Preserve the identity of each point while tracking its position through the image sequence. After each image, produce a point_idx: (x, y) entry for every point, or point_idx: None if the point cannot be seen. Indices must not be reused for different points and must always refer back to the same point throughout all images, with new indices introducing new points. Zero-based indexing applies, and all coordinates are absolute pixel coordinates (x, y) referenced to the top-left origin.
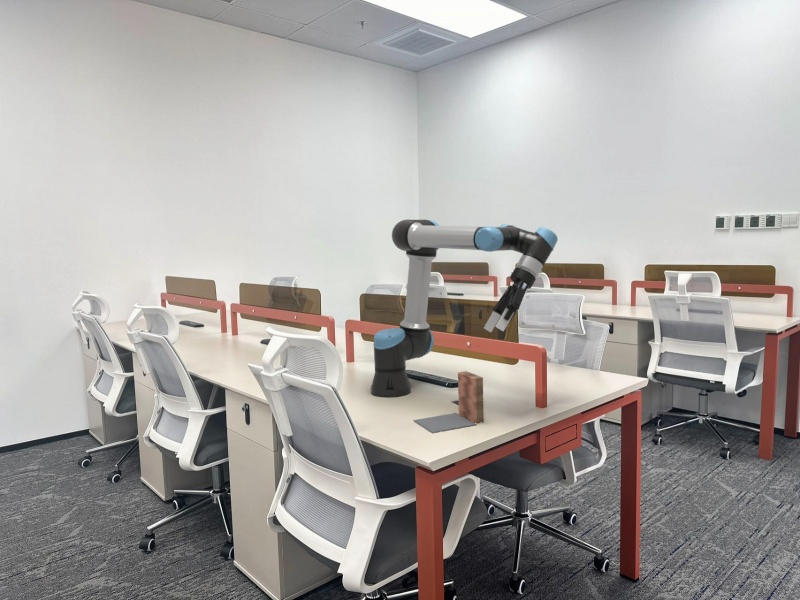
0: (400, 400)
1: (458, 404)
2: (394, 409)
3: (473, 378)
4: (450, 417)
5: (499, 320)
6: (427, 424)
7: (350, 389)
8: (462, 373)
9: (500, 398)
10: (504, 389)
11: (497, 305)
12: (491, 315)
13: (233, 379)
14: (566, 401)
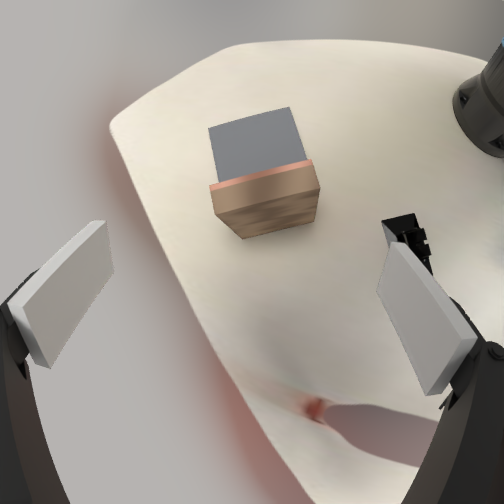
0: (432, 116)
1: (387, 222)
2: (372, 92)
3: (214, 184)
4: None
5: (71, 240)
6: (254, 125)
7: None
8: (290, 167)
9: None
10: None
11: (500, 397)
12: (439, 305)
13: None
14: (330, 468)
